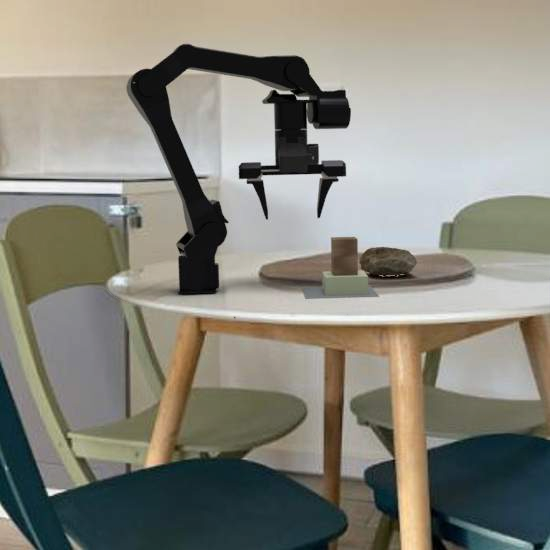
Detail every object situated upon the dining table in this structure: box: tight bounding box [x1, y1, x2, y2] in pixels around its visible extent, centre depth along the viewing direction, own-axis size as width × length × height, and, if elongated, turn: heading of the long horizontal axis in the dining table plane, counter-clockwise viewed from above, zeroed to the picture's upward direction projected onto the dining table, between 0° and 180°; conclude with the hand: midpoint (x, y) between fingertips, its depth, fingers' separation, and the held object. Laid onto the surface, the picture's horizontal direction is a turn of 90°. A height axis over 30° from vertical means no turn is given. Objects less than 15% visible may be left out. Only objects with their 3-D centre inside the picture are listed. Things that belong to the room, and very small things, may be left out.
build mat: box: [300, 284, 380, 300], centre depth 157 cm, size 12×12×1 cm
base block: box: [321, 270, 369, 295], centre depth 157 cm, size 7×7×3 cm
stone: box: [358, 246, 418, 276], centre depth 175 cm, size 13×8×8 cm
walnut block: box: [330, 236, 359, 276], centre depth 156 cm, size 4×4×6 cm
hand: (292, 218), depth 166 cm, fingers open, 9 cm apart
